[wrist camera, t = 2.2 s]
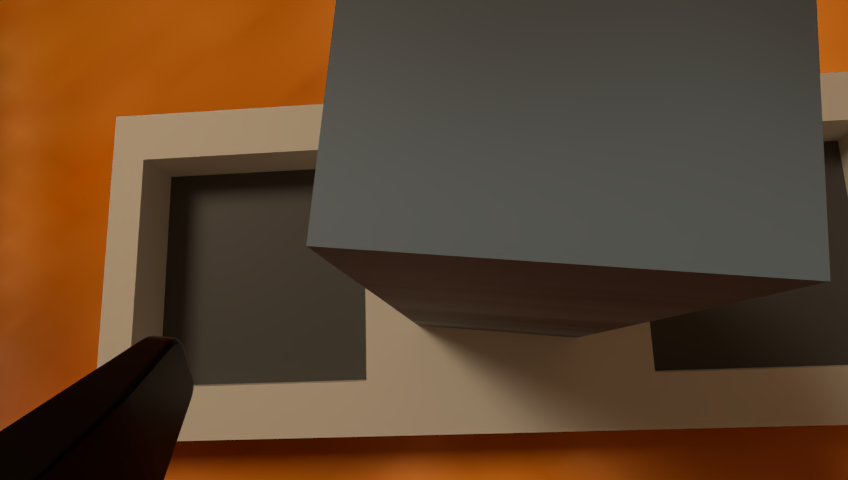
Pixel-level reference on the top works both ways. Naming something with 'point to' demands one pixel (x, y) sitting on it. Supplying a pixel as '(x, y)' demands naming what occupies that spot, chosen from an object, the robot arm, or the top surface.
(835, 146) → the board
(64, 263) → the top surface
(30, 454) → the robot arm
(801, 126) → the slate block
